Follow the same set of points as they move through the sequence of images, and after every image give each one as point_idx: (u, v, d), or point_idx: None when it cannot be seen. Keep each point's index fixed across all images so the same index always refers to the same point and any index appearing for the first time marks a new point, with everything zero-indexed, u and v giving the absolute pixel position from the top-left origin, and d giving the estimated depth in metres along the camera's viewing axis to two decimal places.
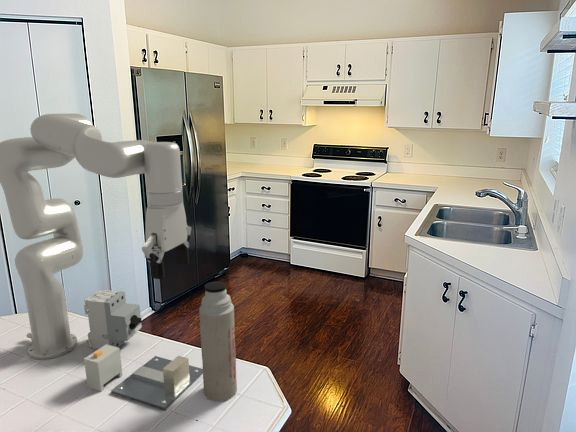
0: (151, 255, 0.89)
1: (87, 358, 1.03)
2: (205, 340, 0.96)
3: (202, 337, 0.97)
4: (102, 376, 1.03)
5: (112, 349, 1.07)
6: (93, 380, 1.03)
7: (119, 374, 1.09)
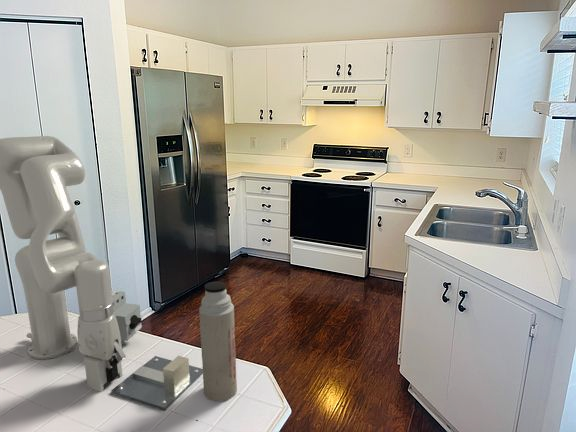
0: None
1: (87, 358, 1.03)
2: (204, 340, 0.96)
3: (202, 337, 0.97)
4: (102, 376, 1.03)
5: None
6: (93, 380, 1.03)
7: (119, 374, 1.09)
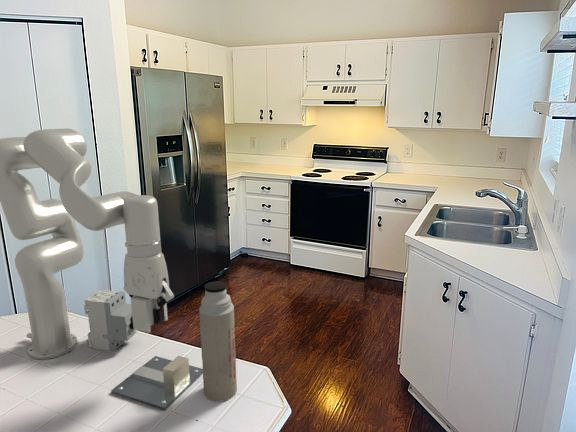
0: None
1: (134, 298, 0.99)
2: (205, 340, 0.96)
3: (202, 337, 0.97)
4: (149, 317, 0.99)
5: None
6: (140, 321, 0.99)
7: (165, 318, 1.05)
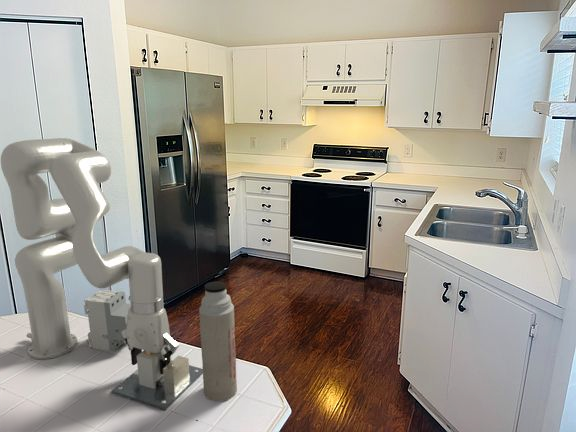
0: None
1: (140, 355, 1.03)
2: (205, 340, 0.96)
3: (202, 337, 0.97)
4: (155, 373, 1.03)
5: None
6: (145, 377, 1.03)
7: None
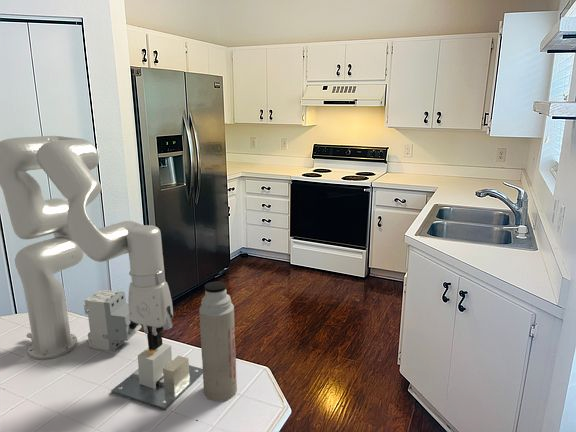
0: None
1: (141, 355, 1.02)
2: (205, 340, 0.96)
3: (202, 337, 0.97)
4: (155, 374, 1.03)
5: (164, 346, 1.06)
6: (146, 377, 1.03)
7: None
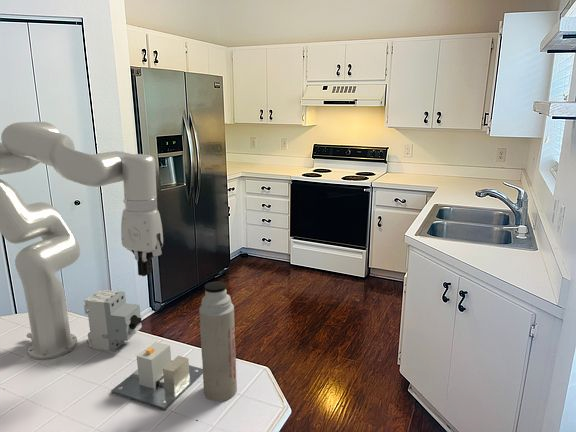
0: None
1: (140, 355, 1.03)
2: (205, 340, 0.96)
3: (202, 337, 0.97)
4: (155, 373, 1.03)
5: (162, 346, 1.06)
6: (145, 377, 1.03)
7: None
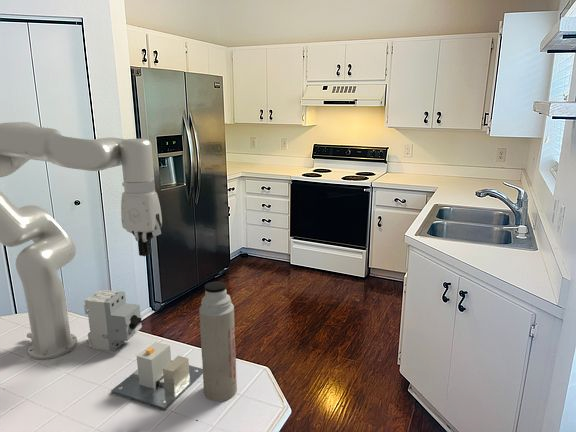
0: None
1: (140, 355, 1.03)
2: (205, 340, 0.96)
3: (202, 337, 0.97)
4: (155, 373, 1.03)
5: (162, 346, 1.06)
6: (145, 377, 1.03)
7: None
